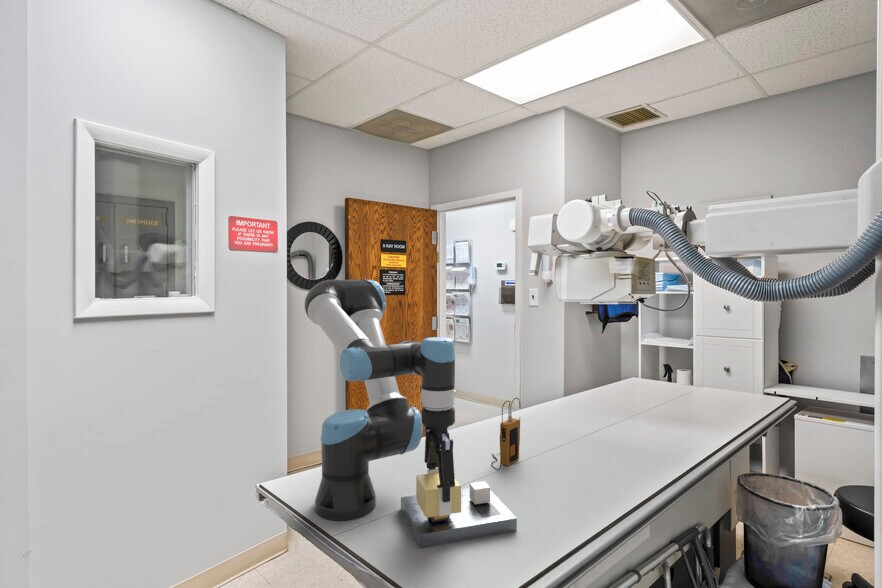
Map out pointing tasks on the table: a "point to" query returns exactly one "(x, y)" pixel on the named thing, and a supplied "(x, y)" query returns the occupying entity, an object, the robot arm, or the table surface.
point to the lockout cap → (435, 495)
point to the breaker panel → (459, 521)
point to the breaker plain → (479, 492)
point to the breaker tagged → (439, 518)
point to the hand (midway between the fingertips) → (438, 505)
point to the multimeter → (509, 439)
